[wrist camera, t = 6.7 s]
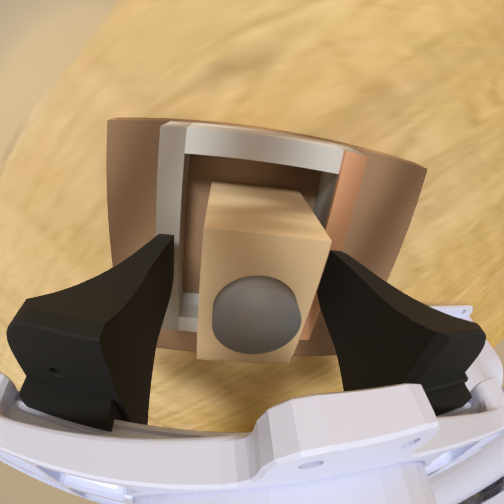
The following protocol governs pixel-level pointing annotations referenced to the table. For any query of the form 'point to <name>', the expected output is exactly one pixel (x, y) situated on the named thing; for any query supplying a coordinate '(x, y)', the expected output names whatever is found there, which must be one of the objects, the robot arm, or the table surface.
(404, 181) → the board
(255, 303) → the knob block
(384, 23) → the table surface
